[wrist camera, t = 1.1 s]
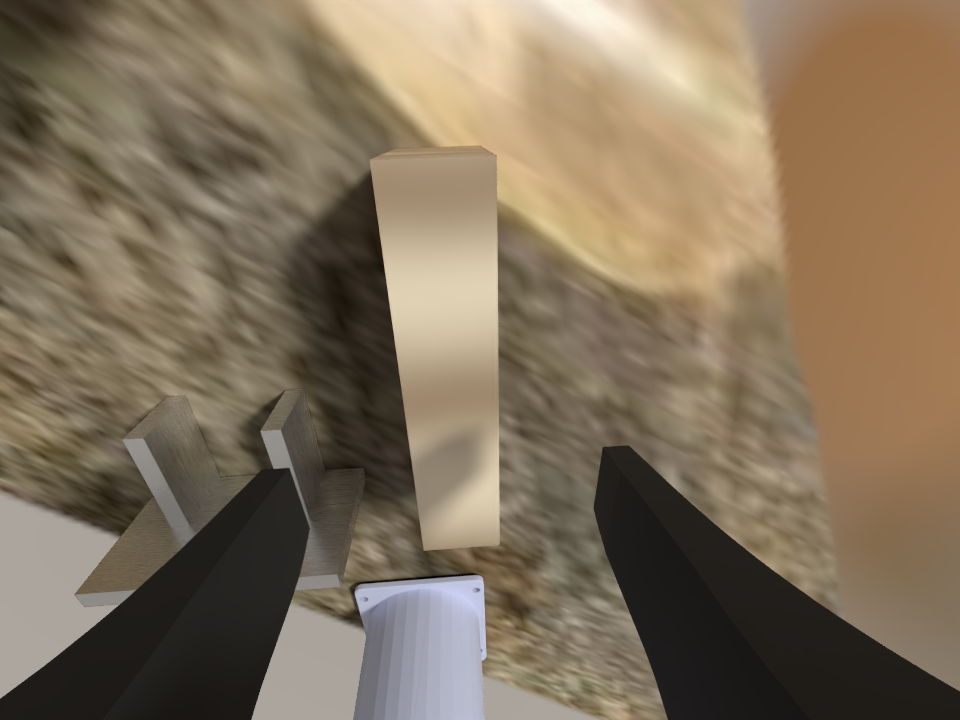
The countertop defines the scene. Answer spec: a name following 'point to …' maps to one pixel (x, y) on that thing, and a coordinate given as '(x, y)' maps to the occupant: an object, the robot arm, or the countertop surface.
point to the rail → (445, 331)
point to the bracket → (224, 497)
